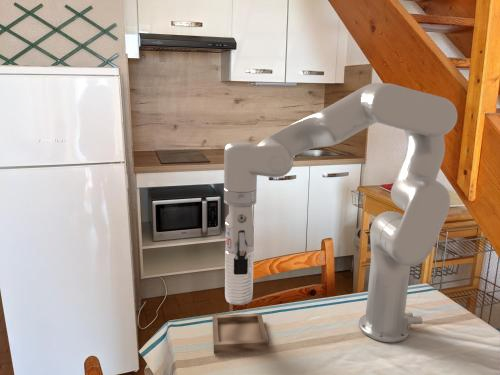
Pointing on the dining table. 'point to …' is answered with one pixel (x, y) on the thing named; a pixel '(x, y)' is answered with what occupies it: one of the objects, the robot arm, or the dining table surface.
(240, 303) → the water bottle
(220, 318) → the tray
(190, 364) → the dining table surface
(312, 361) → the dining table surface
